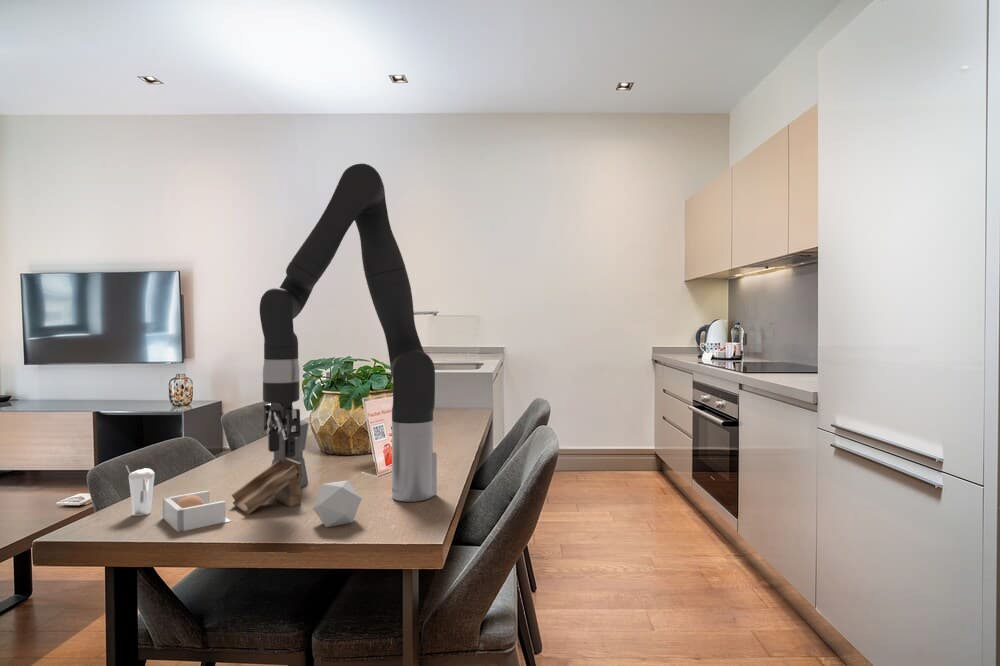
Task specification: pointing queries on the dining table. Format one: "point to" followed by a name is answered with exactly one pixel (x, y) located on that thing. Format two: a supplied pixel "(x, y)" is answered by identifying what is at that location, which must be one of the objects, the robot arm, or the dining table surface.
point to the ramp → (272, 486)
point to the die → (337, 503)
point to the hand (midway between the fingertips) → (281, 453)
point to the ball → (190, 501)
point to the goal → (193, 512)
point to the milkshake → (141, 491)
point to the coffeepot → (299, 449)
